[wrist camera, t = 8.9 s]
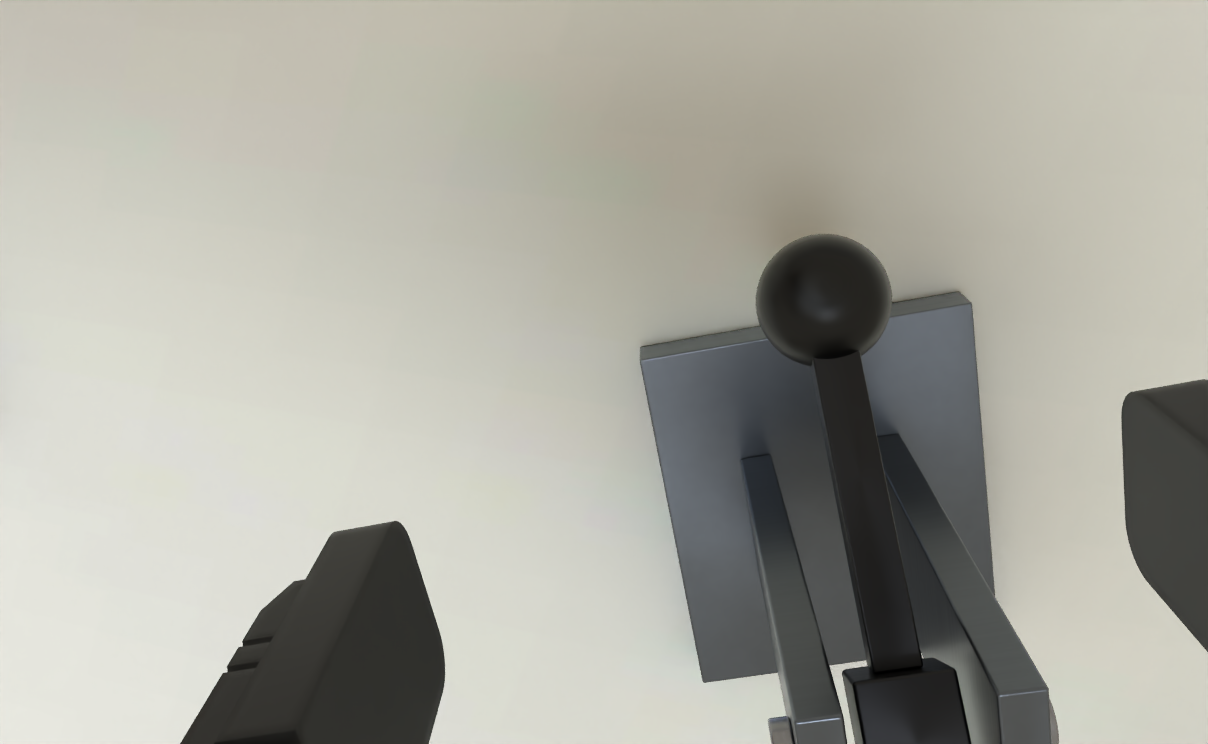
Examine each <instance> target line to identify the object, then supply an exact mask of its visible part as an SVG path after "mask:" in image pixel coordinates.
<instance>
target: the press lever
mask: <svg viewBox="0 0 1208 744" xmlns="http://www.w3.org/2000/svg"><path fill="white" fill-rule="evenodd" d="M891 308H892V291H891V286H890V282H889V279H888V276H887V273H886V271H885V269H884V267H883V266H882V264H881V262H880V261H879V260H878V259H877V257H876V256H875V255H874V254H873V253H872V252H871V251H870V250H869V249H867V248H866V247H864V246H863V245H862V244H860V243H858V242H856V241H854V240H852V239H849V238H847V237H843V236H839V235H833V234H817V235H810V236H806V237H803V238H800V239H798V240H795V241H793V242H792V243H790V244H788V245H787V246H785V247H784V248H782V249H781V250H780V251H779V252H778V253H777V254H776V255H775V256H774V257H773V258H772V259H771V260H770V261H769V263H768V264H767V266H766V267H765V269H764V271H763V273H762V275H761V277H760V280H759V283H758V287H757V292H756V311H757V316H758V320H759V324H760V326H761V328H762V331H763V333H764V334H765V336H766V338H767V339H768V340H769V342H770V343H771V344H772V345H773V346H774V347H775V348H776V349H777V350H778V351H779V352H780V353H781V354H783V355H784V356H786V357H787V358H789V359H791V360H793V361H795V362H797V363H800V364H803V365H807V366H810V369H811V374H812V379H813V384H814V390H815V395H816V400H817V405H818V410H819V416H820V421H821V426H822V431H823V436H824V442H825V447H826V452H827V457H828V462H829V468H830V473H831V478H832V483H833V488H834V494H835V499H836V504H837V509H838V514H839V520H840V525H841V530H842V535H843V540H844V546H845V551H846V556H847V561H848V566H849V572H850V577H851V582H852V587H853V592H854V598H855V603H856V608H857V613H858V618H859V624H860V629H861V634H862V639H863V644H864V650H865V655H866V660H867V665H868V666H866V667H859V668H852V669H845V670H844V671H843V672H842V676H843V681H844V686H845V692H846V697H847V702H848V708H849V713H850V719H851V724H852V729H853V735H854V740H855V744H972V743H971V738H970V733H969V729H968V724H967V719H966V714H965V709H964V705H963V700H962V695H961V690H960V685H959V681H958V676H957V671H956V670H955V669H954V668H953V667H951V666H949V665H947V664H945V663H943V662H941V661H940V660H938V659H936V658H933V657H932V658H924V659H922V656H921V651H920V646H919V641H918V636H917V631H916V626H915V621H914V616H913V611H912V606H911V601H910V597H909V592H908V587H907V582H906V577H905V572H904V567H903V562H902V557H901V552H900V547H899V542H898V537H897V532H896V527H895V523H894V518H893V513H892V508H891V503H890V498H889V493H888V488H887V483H886V478H885V473H884V468H883V463H882V458H881V453H880V449H879V444H878V439H877V434H876V429H875V424H874V419H873V414H872V409H871V404H870V399H869V394H868V389H867V384H866V379H865V375H864V370H863V365H862V360H861V356H862V355H863V354H865V353H866V352H867V351H869V350H870V349H871V348H872V347H873V346H874V345H875V344H876V342H877V341H878V340H879V339H880V337H881V336H882V334H883V332H884V331H885V328H886V326H887V324H888V321H889V318H890V314H891Z"/></svg>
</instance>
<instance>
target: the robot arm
mask: <svg viewBox="0 0 1208 744" xmlns="http://www.w3.org/2000/svg"><path fill="white" fill-rule="evenodd" d="M1122 445H1123V470H1124V496H1125V520H1126V530H1127V535H1128V540H1129V544H1130V547H1131V551H1132V553H1133V556H1134V559H1135V561H1136V563H1137V566H1138V568H1139V569H1140V571H1141V573H1142V575H1143V576H1144V578H1145V579H1146V581H1147V582H1148V583H1149V584H1150V585H1151V587H1152V588H1153V589H1154V590H1155V591H1156V592H1157V594H1158V595H1159V596H1160V597H1161V598H1162V599H1163V600H1164V602H1165V603H1166V604H1167V605H1168V606H1169V607H1170V609H1171V610H1172V611H1173V612H1174V613H1175V614H1176V616H1177V617H1178V618H1179V619H1180V620H1181V621H1182V623H1183V624H1184V625H1185V626H1186V627H1187V628H1188V630H1189V631H1190V632H1191V633H1192V634H1193V635H1194V637H1195V638H1196V639H1197V640H1198V641H1199V642H1200V643H1201V645H1202V646H1203V647H1204V648H1205V649H1206V650H1207V652H1208V380H1205V379H1203V380H1197V381H1191V382H1186V383H1180V384H1174V385H1169V386H1163V387H1157V388H1152V389H1146V390H1140V391H1135V392H1130V393H1129V394H1128V395H1127V396H1126V397H1125V400H1124V402H1123V406H1122ZM242 642H243V647H239V648H238V649H237V651H236V653H235V654H234V656H233V657H232V659H231V661H230V662H229V664H228V666H227V669H228V672H227V673H223V674H222V676H221V677H220V679H219V681H218V682H217V684H216V686H215V687H214V689H213V691H212V692H211V694H210V696H209V697H208V699H207V700H206V702H205V704H204V705H203V707H202V709H201V710H200V712H199V714H198V715H197V717H196V719H195V720H194V722H193V724H192V725H191V727H190V729H189V730H188V732H187V734H186V735H185V737H184V739H183V740H182V742H181V743H180V744H429V740H430V736H431V733H432V729H433V725H434V722H435V718H436V715H437V711H438V707H439V704H440V700H441V696H442V693H443V688H444V681H445V660H444V651H443V645H442V640H441V636H440V632H439V629H438V626H437V623H436V619H435V616H434V613H433V610H432V607H431V604H430V601H429V597H428V594H427V591H426V588H425V585H424V582H423V579H422V575H421V572H420V569H419V566H418V563H417V560H416V556H415V553H414V550H413V547H412V544H411V541H410V538H409V536H408V534H407V531H406V530H405V528H404V527H403V525H402V524H401V523H399V522H397V521H393V522H388V523H382V524H376V525H371V526H365V527H360V528H354V529H348V530H343V531H337V532H334V533H332V534H331V536H330V537H329V539H328V540H327V542H326V544H325V546H324V547H323V549H322V551H321V553H320V555H319V556H318V558H317V560H316V562H315V563H314V565H313V567H312V569H311V571H310V572H309V574H308V576H307V578H306V580H300V581H294V582H293V583H292V584H291V585H289V586H288V587H287V588H286V589H285V590H284V591H283V592H281V593H280V594H279V595H278V596H277V597H276V598H275V599H274V600H272V601H271V602H270V603H269V604H268V605H267V606H266V607H264V608H263V609H262V610H261V611H260V613H259V614H258V616H257V618H256V619H255V621H254V623H253V624H252V626H251V628H250V629H249V631H248V633H247V634H246V636H245V638H244V639H243V641H242Z"/></svg>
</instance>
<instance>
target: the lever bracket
mask: <svg viewBox="0 0 1208 744" xmlns="http://www.w3.org/2000/svg"><path fill="white" fill-rule="evenodd" d="M861 360H862V365H863V370H864V375H865V379H866V384H867V389H868V394H869V399H870V404H871V409H872V414H873V419H874V424H875V429H876V434H877V439H878V444H879V449H880V453H881V458H882V463H883V468H884V473H885V478H886V483H887V488H888V493H889V498H890V503H891V508H892V513H893V518H894V523H895V527H896V532H897V537H898V542H899V547H900V552H901V557H902V562H903V567H904V572H905V577H906V582H907V587H908V592H909V597H910V601H911V606H912V611H913V616H914V621H915V626H916V631H917V636H918V641H919V646H920V651H921V653H922V655H923V657H924V658H932V657H933V658H936V659H938V660H940V661H941V662H943V663H945V664H947V665H949V666H951V667H953V668H954V669H955V670H956V671H957V676H958V681H959V685H960V690H961V695H962V700H963V705H964V709H965V714H966V719H967V724H968V729H969V733H970V738H971V743H972V744H1058V743H1059V734H1058V726H1057V721H1056V717H1055V713H1054V710H1053V706H1052V704H1051V701H1050V699H1049V689H1048V687H1047V685H1046V683H1045V682H1044V680H1043V678H1042V677H1041V675H1040V673H1039V671H1038V670H1037V668H1036V666H1035V665H1034V663H1033V661H1032V660H1031V658H1030V656H1029V654H1028V653H1027V651H1026V649H1025V648H1024V646H1023V644H1022V642H1021V641H1020V639H1019V637H1018V636H1017V634H1016V632H1015V631H1014V629H1013V627H1012V625H1011V624H1010V622H1009V620H1008V619H1007V617H1006V615H1005V614H1004V612H1003V610H1002V608H1001V607H1000V605H999V603H998V602H997V600H996V598H995V590H994V577H993V565H992V552H991V539H990V527H989V514H988V501H987V489H986V476H985V463H984V451H983V438H982V425H981V413H980V400H979V387H978V375H977V362H976V349H975V337H974V324H973V311H972V303H971V302H970V301H969V300H968V299H967V298H966V297H964V296H963V295H962V294H961V293H960V292H954V293H948V294H942V295H937V296H931V297H925V298H920V299H914V300H908V301H902V302H897V303H892V308H891V314H890V318H889V321H888V324H887V326H886V328H885V331H884V332H883V334H882V336H881V337H880V339H879V340H878V341H877V342H876V344H875V345H874V346H873V347H872V348H871V349H870V350H869V351H867V352H866V353H865V354H863V355H862V356H861ZM640 364H641V369H642V375H643V380H644V385H645V390H646V395H647V400H648V405H649V410H650V415H651V420H652V426H653V431H654V436H655V441H656V446H657V451H658V456H659V461H660V466H661V471H662V476H663V482H664V487H665V492H666V497H667V502H668V507H669V512H670V517H671V522H672V527H673V533H674V538H675V543H676V548H677V553H678V558H679V563H680V568H681V573H682V578H683V584H684V589H685V594H686V599H687V604H688V609H689V614H690V619H691V624H692V629H693V635H694V640H695V645H696V650H697V655H698V660H699V665H700V670H701V675H702V680H703V682H704V683H706V682H713V681H720V680H727V679H735V678H742V677H749V676H756V675H763V674H771V673H778V675H779V680H780V685H781V690H782V695H783V700H784V705H785V710H786V716H783V717H776V718H770V719H768V725H769V731H770V737H771V743H772V744H847V739H846V732H845V725H844V718H843V714H842V710H841V706H840V703H839V699H838V696H837V692H836V688H835V685H834V681H833V677H832V674H831V670H830V667H829V665H835V664H843V663H850V662H857V661H864V660H866V655H865V650H864V644H863V639H862V634H861V629H860V624H859V618H858V613H857V608H856V603H855V598H854V592H853V587H852V582H851V577H850V572H849V566H848V561H847V556H846V551H845V546H844V540H843V535H842V530H841V525H840V520H839V514H838V509H837V504H836V499H835V494H834V488H833V483H832V478H831V473H830V468H829V462H828V457H827V452H826V447H825V442H824V436H823V431H822V426H821V421H820V416H819V410H818V405H817V400H816V395H815V390H814V384H813V379H812V374H811V369H810V366H807V365H803V364H800V363H797V362H795V361H793V360H791V359H789V358H787V357H786V356H784V355H783V354H781V353H780V352H779V351H778V350H777V349H776V348H775V347H774V346H773V345H772V344H771V343H770V342H769V340H768V339H767V338H766V336H765V334H764V333H763V331H762V328H761V326H759V327H753V328H747V329H742V330H736V331H730V332H724V333H719V334H713V335H707V336H701V337H696V338H690V339H684V340H678V341H673V342H667V343H661V344H656V345H650V346H644V347H641V348H640Z"/></svg>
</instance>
